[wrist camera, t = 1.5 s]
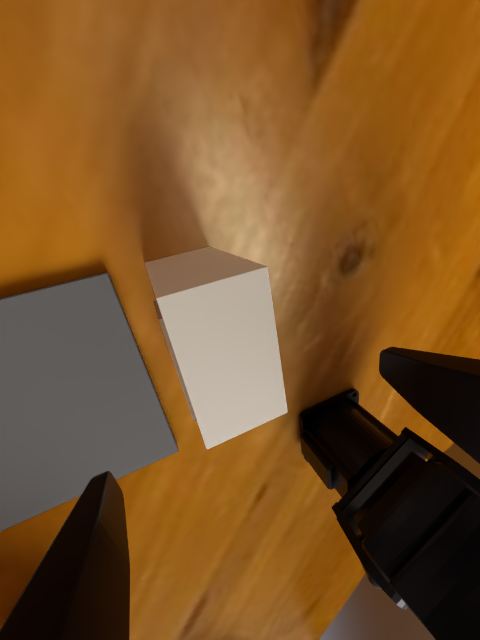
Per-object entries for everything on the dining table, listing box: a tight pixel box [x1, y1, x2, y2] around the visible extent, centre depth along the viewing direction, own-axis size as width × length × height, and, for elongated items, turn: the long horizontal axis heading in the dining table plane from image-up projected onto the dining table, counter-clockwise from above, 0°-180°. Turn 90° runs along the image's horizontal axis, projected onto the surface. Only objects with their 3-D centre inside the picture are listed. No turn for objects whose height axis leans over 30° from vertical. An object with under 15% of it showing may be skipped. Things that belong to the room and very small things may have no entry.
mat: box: [0, 272, 178, 531], centre depth 15 cm, size 16×14×1 cm
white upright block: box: [144, 247, 288, 449], centre depth 14 cm, size 4×7×8 cm, turn 11°
